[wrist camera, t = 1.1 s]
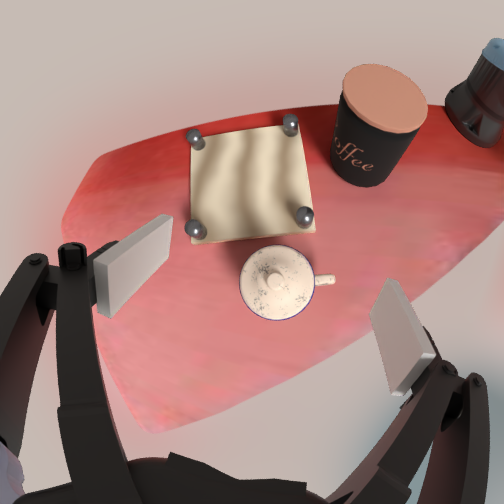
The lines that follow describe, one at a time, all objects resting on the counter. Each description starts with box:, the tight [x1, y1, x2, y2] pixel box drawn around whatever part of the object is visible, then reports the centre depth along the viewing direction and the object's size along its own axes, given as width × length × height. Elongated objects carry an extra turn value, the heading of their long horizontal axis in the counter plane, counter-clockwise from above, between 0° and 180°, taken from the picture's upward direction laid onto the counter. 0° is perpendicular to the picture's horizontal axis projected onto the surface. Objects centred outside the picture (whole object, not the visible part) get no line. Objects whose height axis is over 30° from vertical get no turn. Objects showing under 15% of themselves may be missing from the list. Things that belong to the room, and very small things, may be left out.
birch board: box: [191, 124, 316, 245], centre depth 44 cm, size 19×19×2 cm
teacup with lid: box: [239, 245, 335, 320], centre depth 36 cm, size 12×9×12 cm
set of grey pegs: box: [185, 114, 314, 240], centre depth 42 cm, size 18×18×4 cm
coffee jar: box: [330, 64, 428, 187], centre depth 34 cm, size 11×11×18 cm
